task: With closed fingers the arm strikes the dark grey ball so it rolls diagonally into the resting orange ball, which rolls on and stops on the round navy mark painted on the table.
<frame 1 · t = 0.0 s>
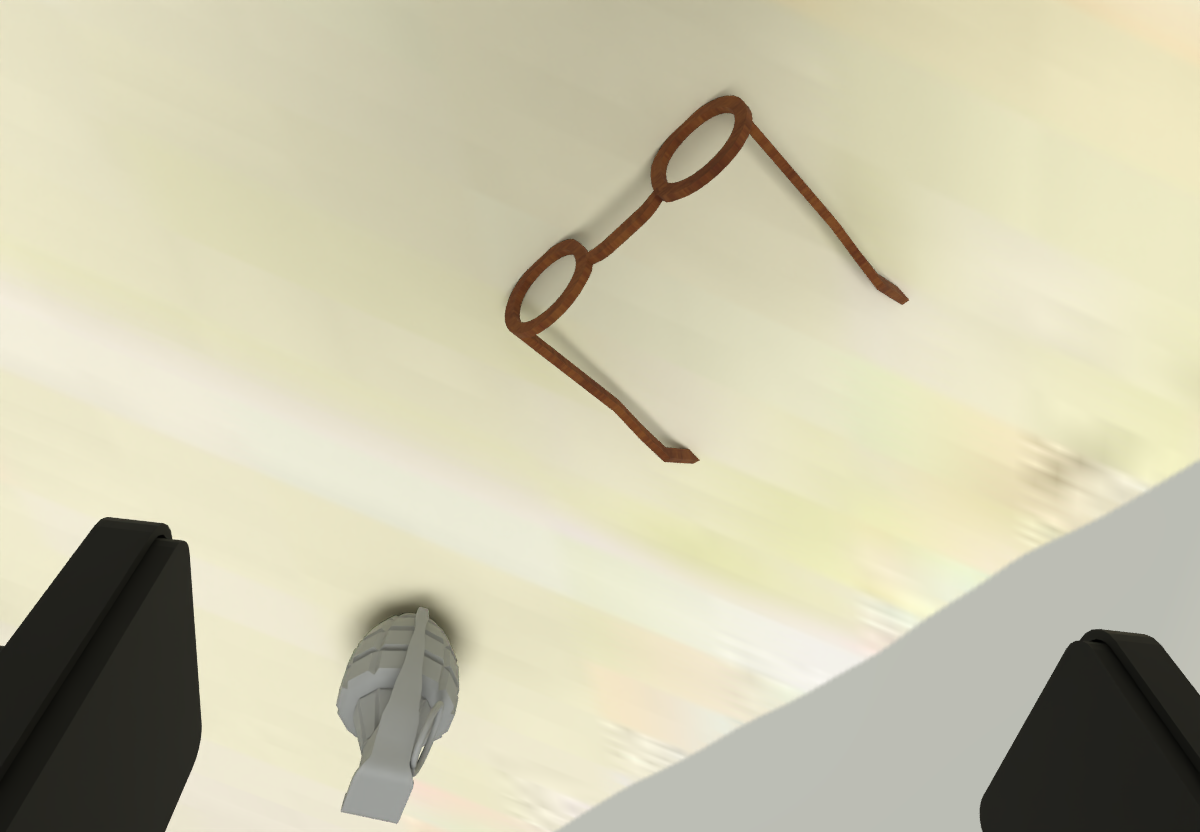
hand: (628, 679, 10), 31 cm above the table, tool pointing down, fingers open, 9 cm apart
glasses: (705, 290, 42), on the table
hand grenade: (415, 622, 51), on the table
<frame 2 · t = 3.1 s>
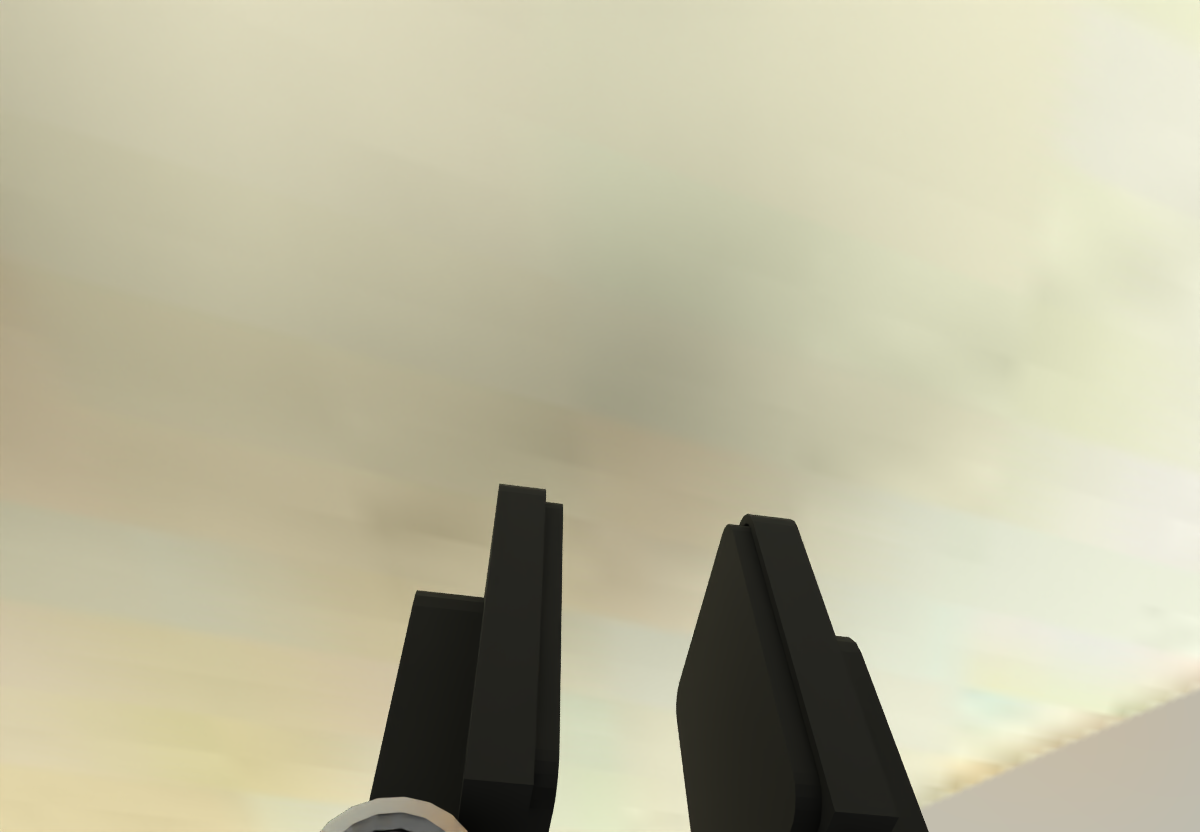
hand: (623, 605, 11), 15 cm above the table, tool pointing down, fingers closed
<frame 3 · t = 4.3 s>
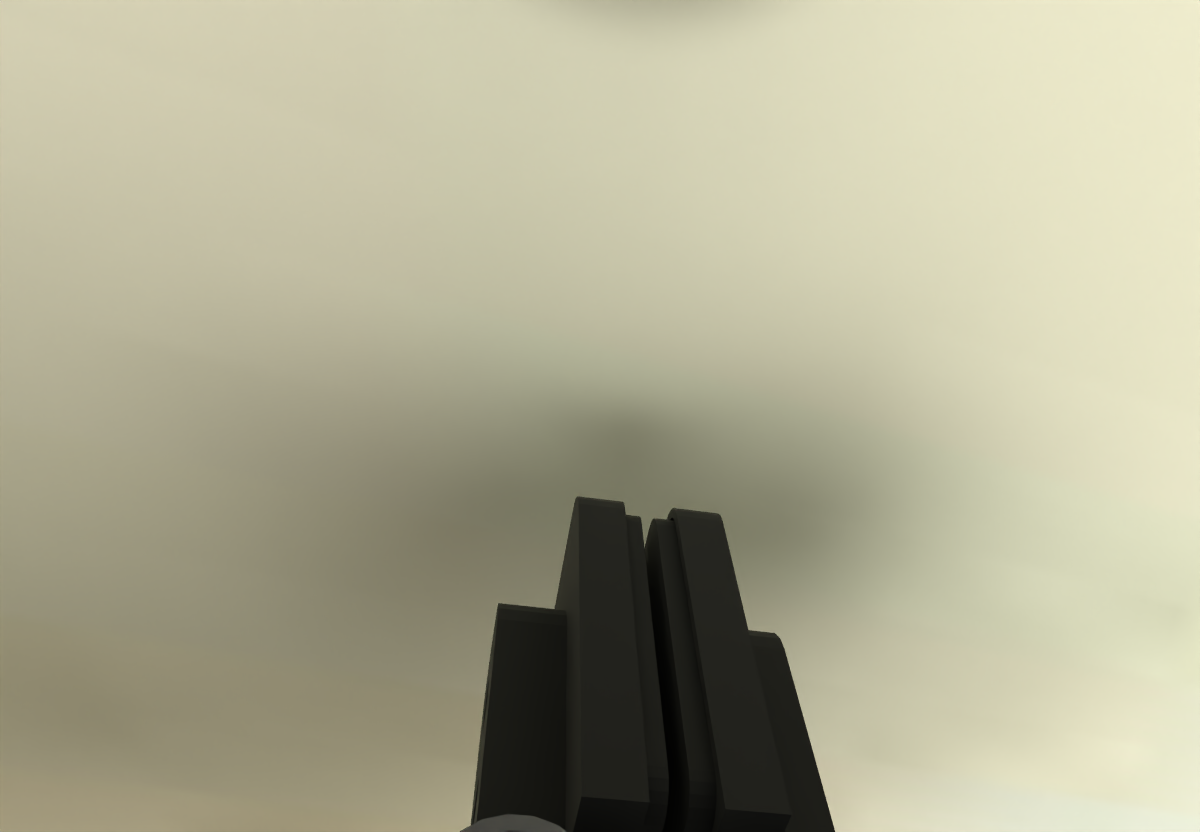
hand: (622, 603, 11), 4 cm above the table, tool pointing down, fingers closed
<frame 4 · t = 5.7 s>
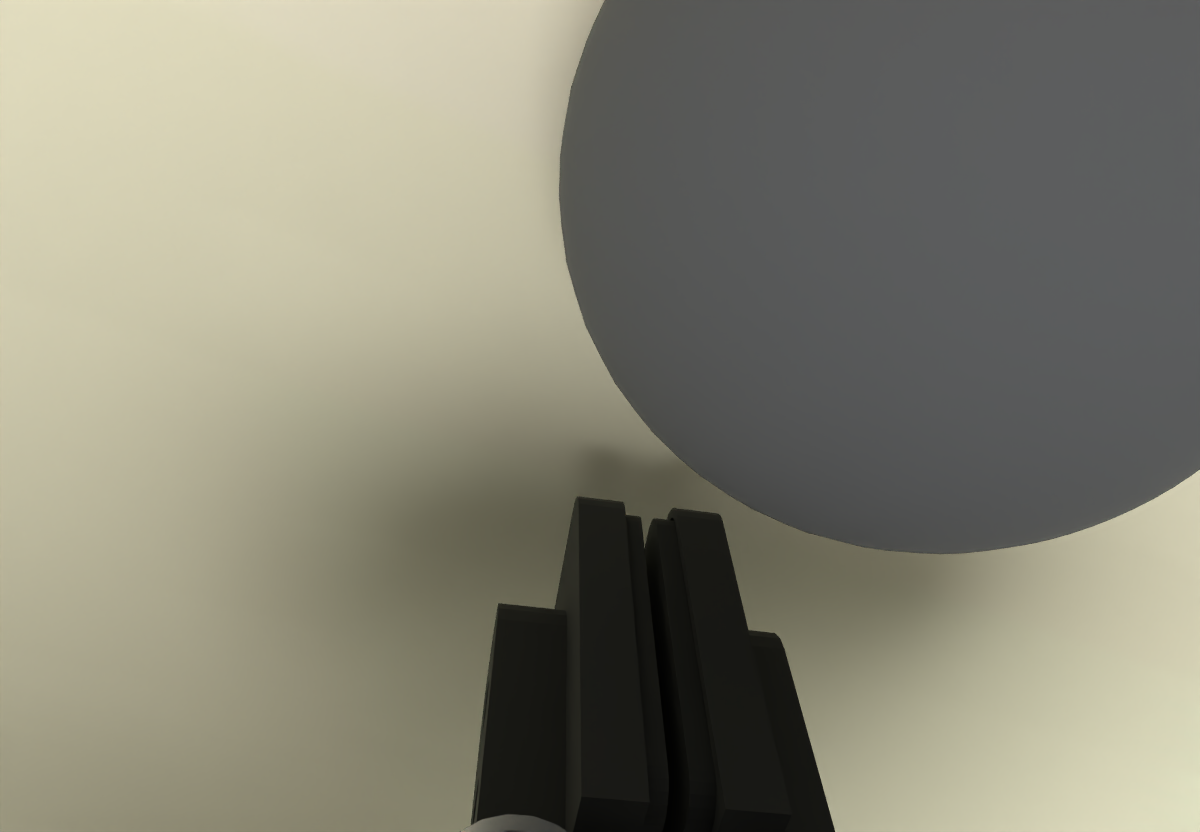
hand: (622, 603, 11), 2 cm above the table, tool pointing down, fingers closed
dark grey ball: (918, 190, 7), on the table
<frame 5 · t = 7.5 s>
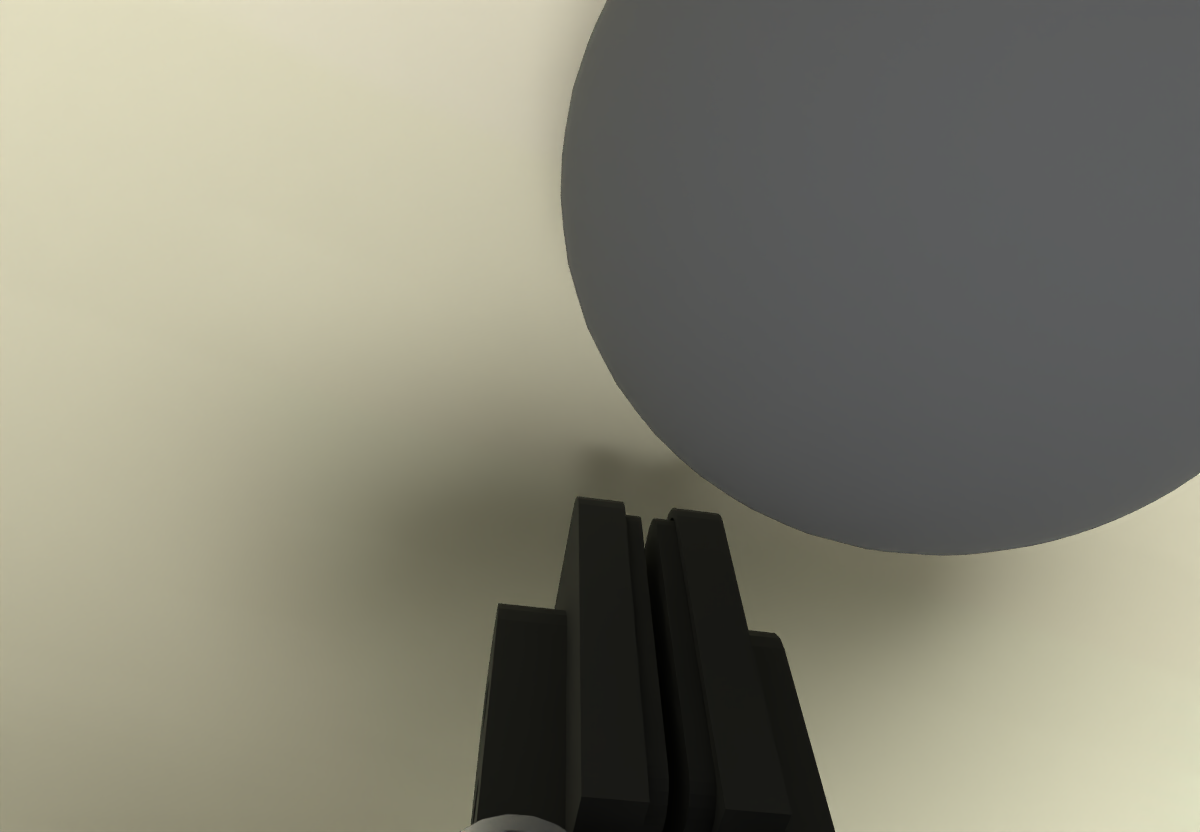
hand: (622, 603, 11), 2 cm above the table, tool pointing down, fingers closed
dark grey ball: (920, 191, 7), on the table
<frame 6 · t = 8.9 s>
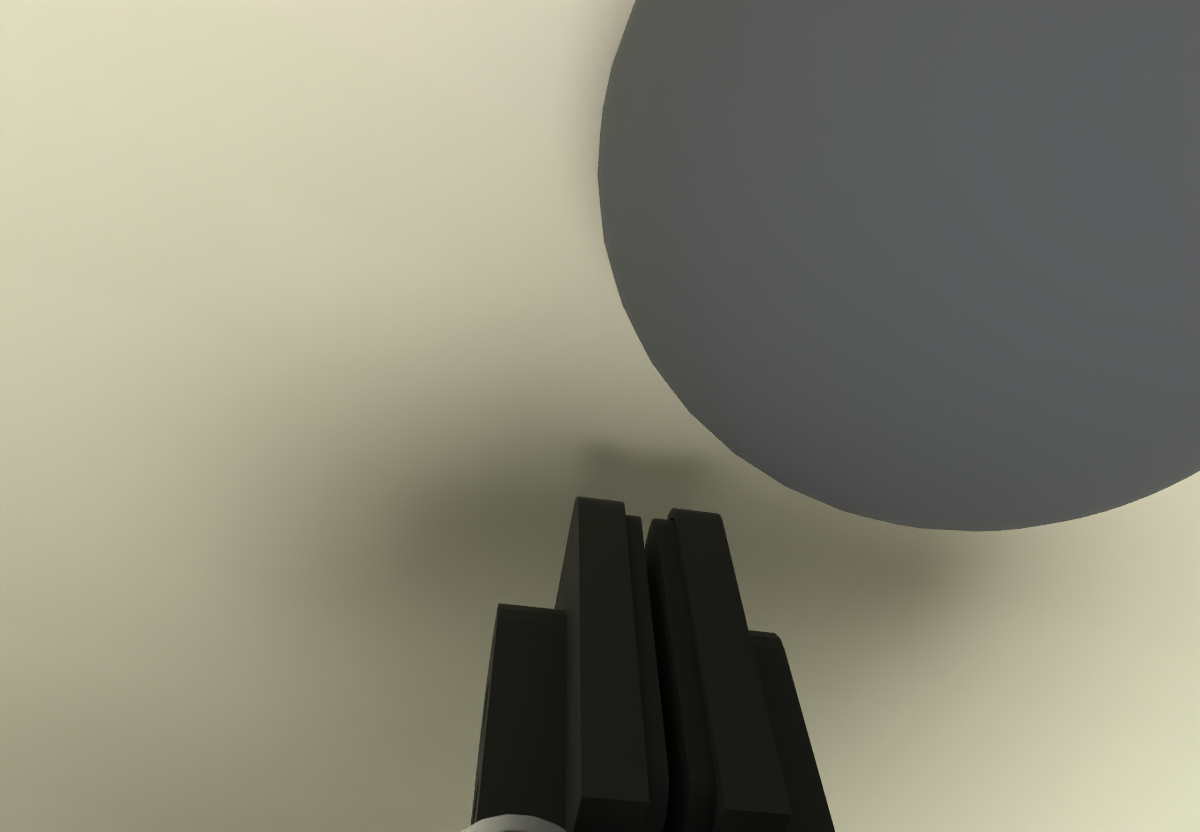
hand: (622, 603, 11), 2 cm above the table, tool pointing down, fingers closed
dark grey ball: (954, 171, 7), on the table
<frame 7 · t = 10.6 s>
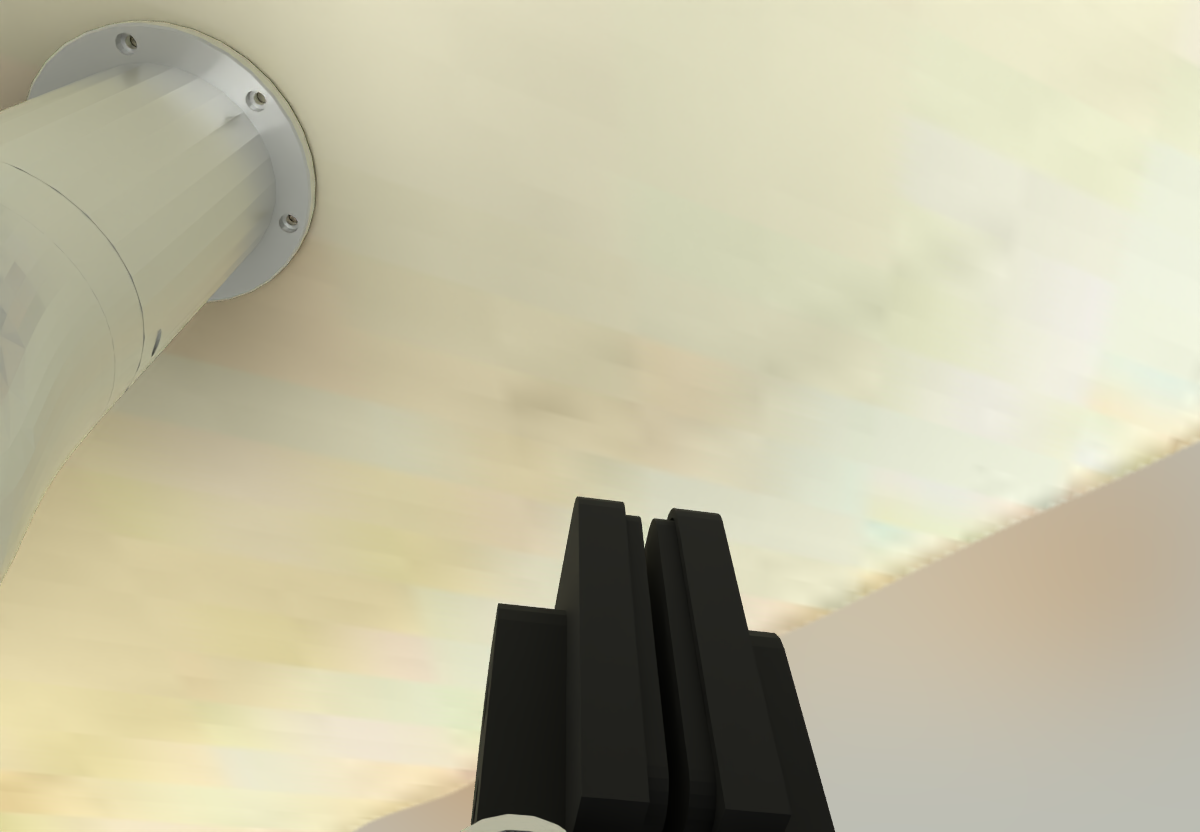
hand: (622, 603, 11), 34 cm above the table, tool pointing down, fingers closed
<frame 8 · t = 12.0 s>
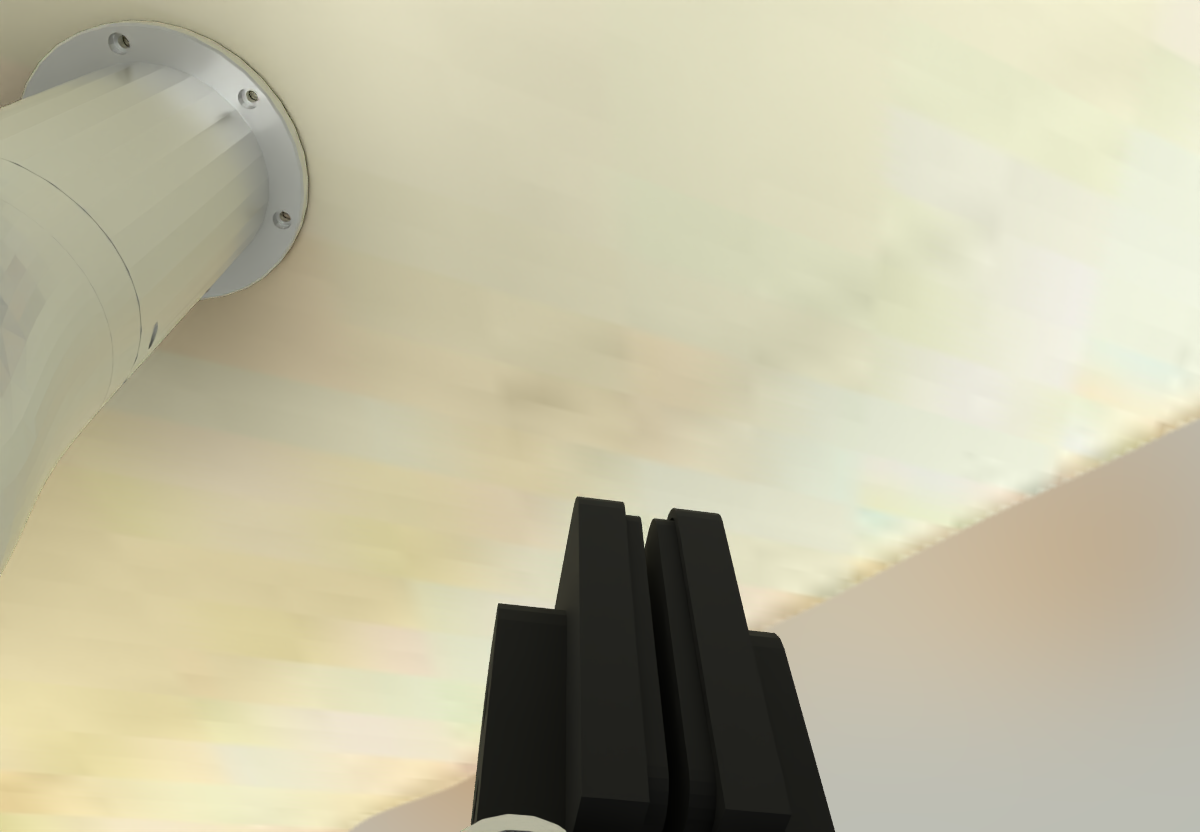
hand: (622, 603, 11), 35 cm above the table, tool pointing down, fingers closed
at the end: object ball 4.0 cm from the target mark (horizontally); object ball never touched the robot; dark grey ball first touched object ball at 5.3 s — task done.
